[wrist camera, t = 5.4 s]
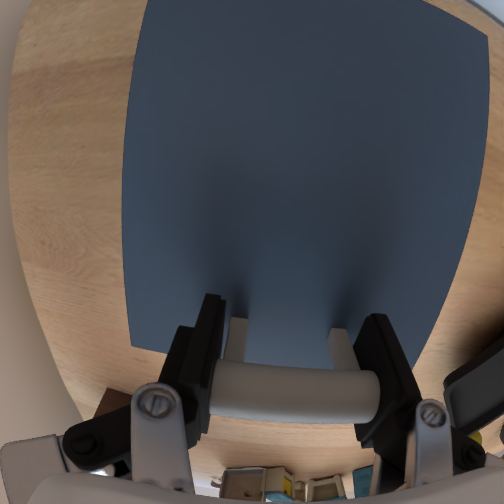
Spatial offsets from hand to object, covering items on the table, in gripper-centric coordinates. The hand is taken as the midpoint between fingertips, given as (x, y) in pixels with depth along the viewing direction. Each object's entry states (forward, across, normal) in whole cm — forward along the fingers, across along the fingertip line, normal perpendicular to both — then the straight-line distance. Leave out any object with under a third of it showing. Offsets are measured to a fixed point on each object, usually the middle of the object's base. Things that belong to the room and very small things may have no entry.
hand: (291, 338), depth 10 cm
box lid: (+2, 0, -5) cm, 6 cm away
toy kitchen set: (+11, -16, +42) cm, 47 cm away
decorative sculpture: (+11, -2, +48) cm, 49 cm away
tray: (+11, -33, +14) cm, 37 cm away
